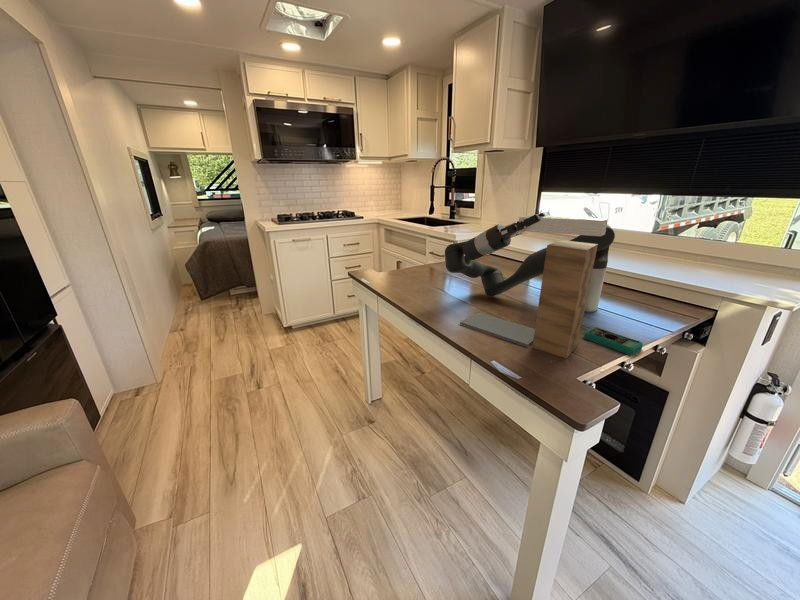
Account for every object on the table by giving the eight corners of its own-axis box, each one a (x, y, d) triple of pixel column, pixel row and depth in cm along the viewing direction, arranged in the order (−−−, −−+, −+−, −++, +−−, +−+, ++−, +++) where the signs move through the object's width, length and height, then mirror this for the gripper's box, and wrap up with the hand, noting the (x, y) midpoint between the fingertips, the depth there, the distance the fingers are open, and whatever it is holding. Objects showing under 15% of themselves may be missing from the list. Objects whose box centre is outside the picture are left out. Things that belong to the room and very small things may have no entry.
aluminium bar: (523, 229, 100) (524, 215, 99) (605, 234, 85) (607, 218, 84) (517, 230, 97) (519, 217, 96) (601, 236, 83) (603, 220, 81)
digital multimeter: (592, 332, 111) (594, 325, 110) (642, 350, 99) (644, 341, 98) (581, 338, 107) (582, 330, 106) (631, 357, 95) (634, 348, 94)
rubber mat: (477, 314, 125) (477, 312, 125) (542, 334, 109) (543, 331, 109) (460, 324, 117) (460, 321, 117) (527, 347, 101) (528, 344, 101)
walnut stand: (544, 336, 108) (560, 239, 96) (577, 346, 101) (597, 244, 90) (532, 347, 101) (547, 245, 90) (566, 358, 94) (587, 250, 83)
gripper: (506, 247, 111) (555, 225, 98) (485, 254, 101) (536, 231, 88) (498, 227, 111) (546, 202, 98) (476, 232, 101) (526, 206, 89)
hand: (541, 216), depth 93 cm, fingers closed on aluminium bar, 4 cm apart
